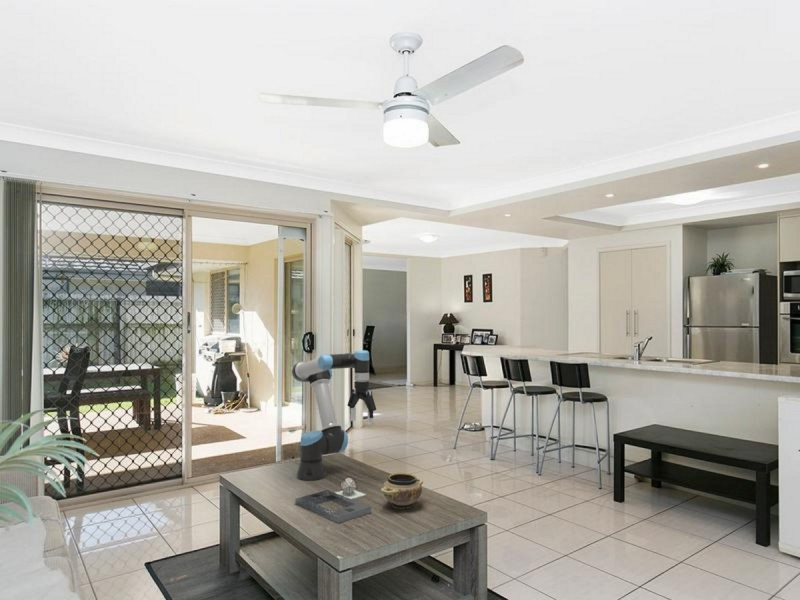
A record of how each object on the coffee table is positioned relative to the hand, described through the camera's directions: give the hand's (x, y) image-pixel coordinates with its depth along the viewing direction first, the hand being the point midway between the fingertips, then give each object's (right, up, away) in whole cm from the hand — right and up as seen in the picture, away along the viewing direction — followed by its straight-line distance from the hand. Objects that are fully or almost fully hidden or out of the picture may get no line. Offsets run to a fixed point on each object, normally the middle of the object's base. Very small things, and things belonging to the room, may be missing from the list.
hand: (361, 422), depth 276 cm
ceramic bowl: (+21, -31, -31) cm, 48 cm away
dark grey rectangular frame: (-11, -31, -35) cm, 47 cm away
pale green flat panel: (-5, -31, -17) cm, 36 cm away
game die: (-5, -31, -17) cm, 35 cm away
